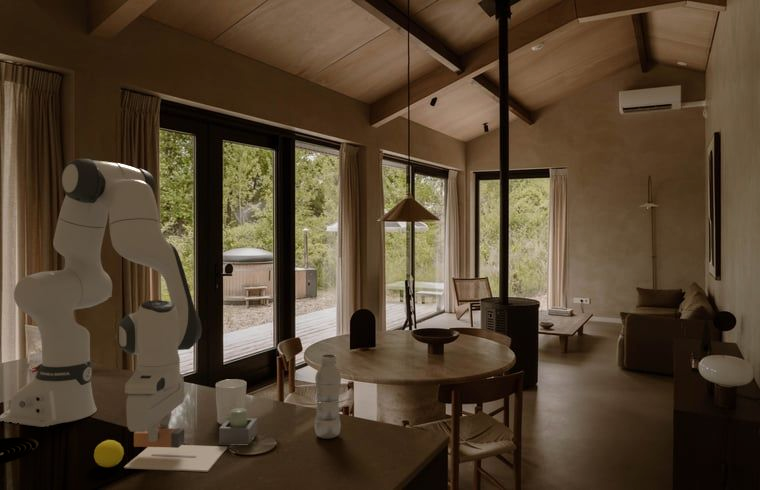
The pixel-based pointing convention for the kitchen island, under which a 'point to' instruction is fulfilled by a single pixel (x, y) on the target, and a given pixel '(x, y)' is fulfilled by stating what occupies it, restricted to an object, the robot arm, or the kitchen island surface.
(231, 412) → the button
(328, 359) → the plastic bottle
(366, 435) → the kitchen island surface
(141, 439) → the block
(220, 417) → the white cup
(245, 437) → the button housing
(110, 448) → the lemon
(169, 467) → the paper
